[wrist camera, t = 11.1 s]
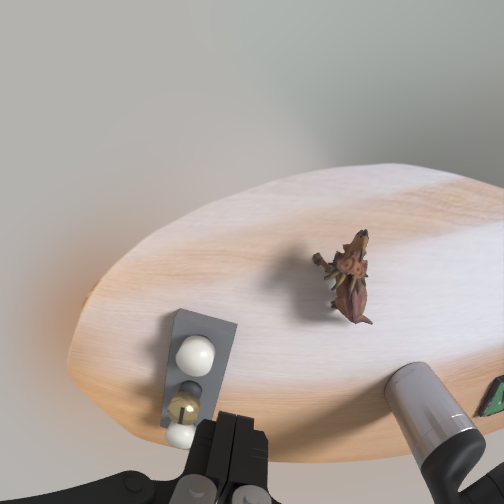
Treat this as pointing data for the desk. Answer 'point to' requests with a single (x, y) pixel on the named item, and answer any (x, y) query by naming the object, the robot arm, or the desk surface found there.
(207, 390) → the control strip
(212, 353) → the cream knob
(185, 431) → the cream knob
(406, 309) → the desk surface
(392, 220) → the desk surface
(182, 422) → the brass dial
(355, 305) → the dinosaur figurine
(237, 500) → the robot arm
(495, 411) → the disk drive
